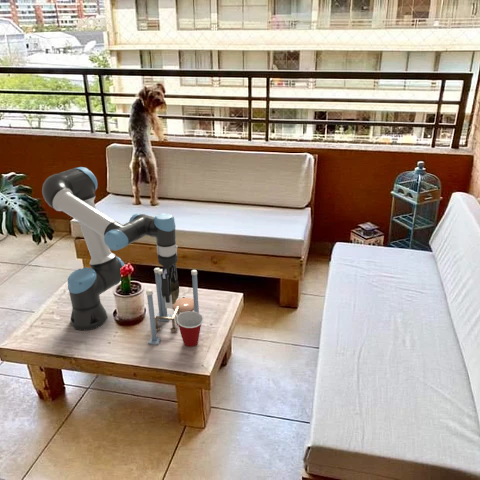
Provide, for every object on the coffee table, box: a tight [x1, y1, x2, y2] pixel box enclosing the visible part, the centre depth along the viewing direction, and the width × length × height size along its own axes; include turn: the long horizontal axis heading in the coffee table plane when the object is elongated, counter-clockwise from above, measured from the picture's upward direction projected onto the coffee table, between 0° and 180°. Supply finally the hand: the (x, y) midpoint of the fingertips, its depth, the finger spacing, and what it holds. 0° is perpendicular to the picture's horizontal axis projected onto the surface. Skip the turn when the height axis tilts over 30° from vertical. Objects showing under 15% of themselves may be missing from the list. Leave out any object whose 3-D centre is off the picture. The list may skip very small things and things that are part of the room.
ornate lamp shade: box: [161, 282, 180, 305], centre depth 181 cm, size 8×7×8 cm
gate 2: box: [153, 267, 200, 316], centre depth 191 cm, size 4×20×24 cm, turn 83°
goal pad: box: [172, 297, 194, 313], centre depth 205 cm, size 11×11×1 cm
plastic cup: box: [175, 310, 204, 347], centre depth 178 cm, size 11×11×12 cm
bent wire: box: [155, 306, 181, 333], centre depth 191 cm, size 10×12×6 cm
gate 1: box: [145, 268, 172, 346], centre depth 184 cm, size 4×20×24 cm, turn 173°
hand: (171, 302), depth 182 cm, fingers closed on ornate lamp shade, 7 cm apart
